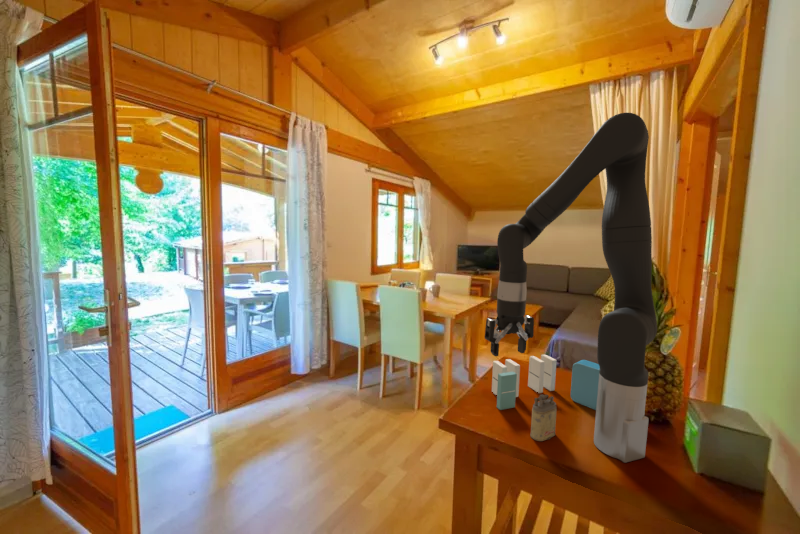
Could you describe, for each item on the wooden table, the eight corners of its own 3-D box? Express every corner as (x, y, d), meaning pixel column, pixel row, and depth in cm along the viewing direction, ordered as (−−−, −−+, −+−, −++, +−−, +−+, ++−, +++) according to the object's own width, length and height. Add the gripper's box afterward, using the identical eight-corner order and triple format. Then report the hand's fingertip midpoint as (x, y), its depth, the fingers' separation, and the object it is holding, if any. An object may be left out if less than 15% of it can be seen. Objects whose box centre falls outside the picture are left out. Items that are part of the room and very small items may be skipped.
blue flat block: (620, 412, 94) (624, 371, 93) (614, 418, 92) (618, 375, 90) (576, 395, 104) (579, 358, 102) (569, 400, 101) (572, 361, 99)
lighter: (546, 427, 87) (548, 390, 86) (559, 435, 84) (562, 397, 83) (527, 435, 84) (529, 397, 82) (540, 444, 80) (542, 404, 79)
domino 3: (515, 407, 97) (516, 373, 95) (499, 410, 95) (501, 376, 94) (511, 404, 98) (513, 371, 97) (496, 407, 97) (498, 373, 95)
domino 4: (532, 385, 110) (533, 355, 109) (542, 392, 105) (544, 361, 104) (527, 386, 110) (529, 356, 108) (538, 393, 105) (540, 362, 104)
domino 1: (496, 391, 106) (497, 360, 105) (505, 398, 101) (507, 366, 100) (491, 391, 105) (492, 361, 104) (501, 399, 101) (502, 367, 99)
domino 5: (543, 383, 111) (545, 354, 110) (554, 390, 107) (556, 360, 106) (539, 384, 111) (541, 354, 110) (550, 391, 106) (552, 360, 105)
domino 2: (508, 389, 107) (509, 358, 106) (518, 396, 103) (520, 365, 101) (503, 389, 107) (505, 359, 106) (513, 397, 102) (515, 365, 101)
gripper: (497, 301, 87) (493, 361, 89) (542, 298, 91) (538, 356, 93) (481, 295, 94) (478, 351, 96) (524, 293, 98) (521, 346, 100)
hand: (508, 353), depth 95 cm, fingers open, 8 cm apart
